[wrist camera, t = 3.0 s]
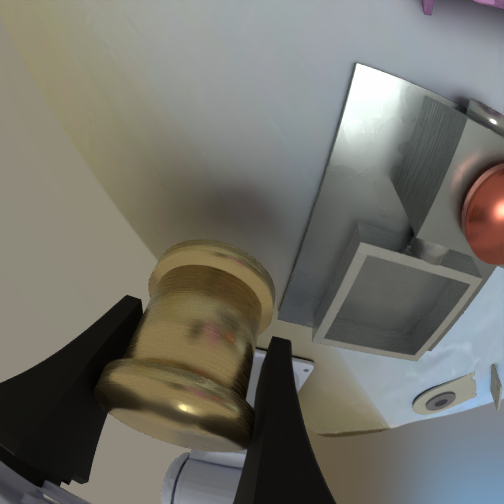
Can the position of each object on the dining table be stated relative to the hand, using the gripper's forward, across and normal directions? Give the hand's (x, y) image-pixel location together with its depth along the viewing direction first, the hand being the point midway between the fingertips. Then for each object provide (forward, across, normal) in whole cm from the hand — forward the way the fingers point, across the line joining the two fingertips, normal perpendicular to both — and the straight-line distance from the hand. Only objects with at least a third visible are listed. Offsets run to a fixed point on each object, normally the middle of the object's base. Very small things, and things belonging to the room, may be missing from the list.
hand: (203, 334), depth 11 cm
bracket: (+10, -26, +14) cm, 31 cm away
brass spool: (+2, 0, 0) cm, 2 cm away
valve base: (+9, -10, -1) cm, 13 cm away
